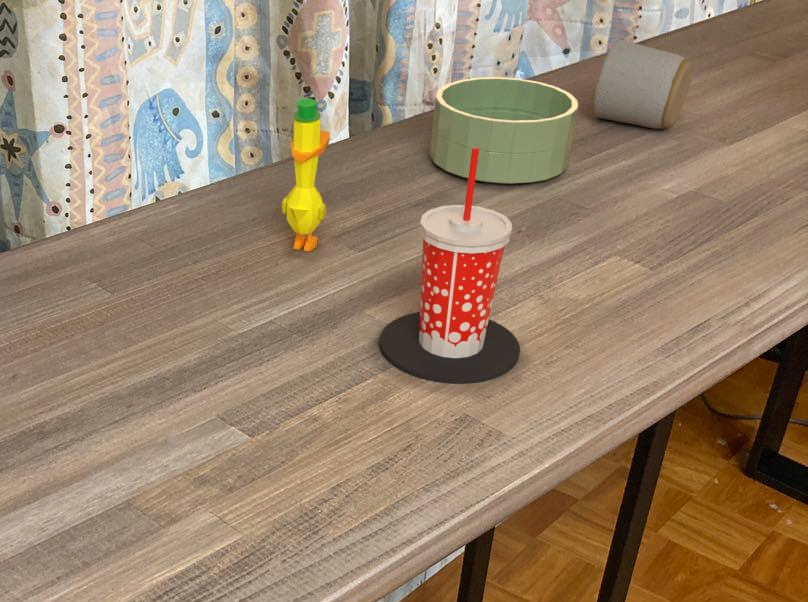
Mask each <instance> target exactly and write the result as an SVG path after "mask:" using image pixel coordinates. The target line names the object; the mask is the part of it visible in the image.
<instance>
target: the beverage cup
mask: <svg viewBox="0 0 808 602" xmlns="http://www.w3.org/2000/svg"><path fill="white" fill-rule="evenodd" d="M478 155H479V147H476V146H474V147H472V152H471V160H470V168H469V176H468V178H467V185H466V191H465V192H466V193H465V201H464V204H450V205H442V206H438V207H434V208H431V209H428V210H427V211H426V212H424V213H423V214H422V215H421V217H420V224H419V227H420V231H419V235H420V236H421V238H422V259H421V280H420V281H421V283H420V284H421V285H420V305H419V306H420V308H419V312H420V330H419V343H420V344H421V346H422V347H423V348H424V349H425V350H427V351H428V352H430V353H432V354H435V355H438V356H441V357H449V358H463V357H469V356H472V355H474V354H477V353H478V352H479V351H480V350H481V349H482V348H483V343H484V339H485V334H486V330H487V325H488V320H489V319H490V316H491V312H492V306H493V301H494V297H495V294H496V288H497V283H498V280H499V274H500V268H501V264H502V261H503V255H504V251H505V247H506V245H507V244H508V243H509V242H510V238H511V237H510V236H511V235H512V229H513V227H512V226H513V223H512V222H511V220H510V219H509V218H508V217H507V216H506V215H504V214H502V213H500V212H498V211H496V210H494V209H490V208H486V207H482V206H478V205H473V201H474V200H473V199H474V194H475V193H474V191H475V184H476V180H475V178H476V171H477V163H478Z"/></svg>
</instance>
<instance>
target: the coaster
mask: <svg viewBox="0 0 808 602" xmlns="http://www.w3.org/2000/svg"><path fill="white" fill-rule="evenodd" d="M419 330H420V311H418V312H417V311H416V312H412V313H408V314H405V315H402V316H399V317H398V318H396V319H394V320H392V321H390V322H389V323H388V324H387V325H385V326H384V328H383V329H382V330H381V333H380V336H379V349H380V352H381V355H383V357H384V358H385V359H386V361H388V363H390V364H391V365H392V366H394V367H395V368H396V369H398V370H400V371H402V372H405V373H406V374H408V375H411V376H413V377H416V378H420V379H423V380H426V381H431V382H432V381H433V382H437V383H443V384H444V383H445V384H475V383H481V382H486V381H490V380H495V379H497V378H499V377H501V376H503V375H505V374H507V373H508V372H510V371H511V370H513V368H514V367H515V366H516V365H517V364H518V361H519V359H520V354H521V346H520V343H519V341H518V339H517V337H516V336H515V335H514V334H513V332H511V331H510V330H509V329H508V328H506V327H505V326H503V325H502V324H500V323H499V322H496V321H495V320H492V319H490V318H489V320H488V325H487V330H486V334H485V339H484V343H483V348H482V349H481V350H480V351H479V352H478V353H477V354H474V355H472V356H469V357H463V358H449V357H441V356H438V355H435V354H432V353H430V352H428V351H427V350H425V349H424V348H423V347H422V346H421V344H420V343H419Z"/></svg>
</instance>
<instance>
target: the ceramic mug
mask: <svg viewBox="0 0 808 602" xmlns="http://www.w3.org/2000/svg"><path fill="white" fill-rule="evenodd" d="M692 76H693V66H692V62H691V61H690V60H689V59H688V58H686V57H684V56H682V55H680V54H678V53H674V52H670V51H666V50H661V49H657V48H654V47H650V46H647V45H642V44H639V43H635V42H631V41H627V40H624V39H619V40H616V41H615V42H614V43H613V44H612V46H611V47H610V49H609V50H608V52H607V54H606V55H605V58H604V62H603V63H602V66H601V68H600V71H599V75H598V78H597V81H596V82H597V83H596V87H595V91H594V96H593V104H592V111H593V115H594V116H595V117H596V118H598V119H602V120H609V121H613V122H618V123H623V124H630V125H634V126H639V127H643V128H649V129H654V130H655V129H657V130H658V129H659V130H663V129H668V128H670V127H671V126H673V125H674V123H675V122H676V121H677V119H678V118H679V115H680V113H681V111H682V109H683V106H684V104H685V101H686V98H687V95H688V92H689V89H690V86H691V82H692V81H691V80H692Z"/></svg>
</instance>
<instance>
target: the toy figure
mask: <svg viewBox="0 0 808 602" xmlns="http://www.w3.org/2000/svg"><path fill="white" fill-rule="evenodd" d="M296 105H297V110H296V111H295V112H294V113H293V114H292V118H293V138H292V139H293V140H292V141H291V142H290V147H291V156H292V158H293V163H294V173H295V185H294V187H292V189H291V190H290V192H289V193H288V194H287V195H286V197H284V198H283V199H282V202H281V212H282V214H284V215H286V221H287V223H288V224H289V226H290V228H291V230H293V232H294V233H295V237H294V244H293V249H294V250H301V249H302V248H303V251H304V252H311V251H313V250H314V249H315V248H317V246H318V242H319V238H318V237H317V236H316V235H313V232H315V230H316V229H317V227H318V226H319V224H320V223H321V222H322V221H324V220H325V218H326V215H327V207H326V206H327V205H326V203H323V197H322V195H321V194H320V192H319V190H318V189H317V187H316V186H315V182H316V176H317V170H318V162H319V157H320V156H321V155H322V154H323V153H324V152H325V151H326V149H327V147H328V146H329V144H330V139H331V132H330V131H328V130H323V129H321V113H320V112H319V111H318V110H317V100H315V99H313V98H300V99H298V100H297V101H296Z"/></svg>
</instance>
